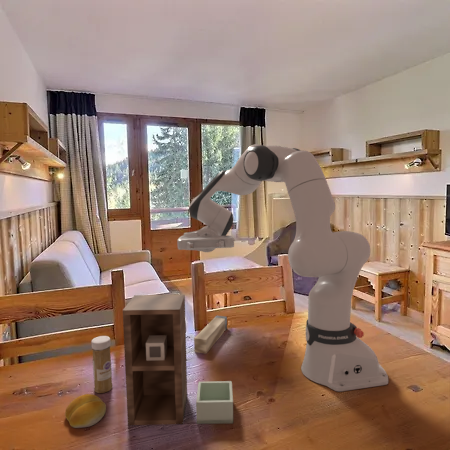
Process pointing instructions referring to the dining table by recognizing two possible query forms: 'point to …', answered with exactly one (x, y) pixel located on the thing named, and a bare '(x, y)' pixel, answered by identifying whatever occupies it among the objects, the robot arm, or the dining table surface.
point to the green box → (214, 402)
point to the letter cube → (156, 347)
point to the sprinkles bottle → (102, 364)
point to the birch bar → (210, 334)
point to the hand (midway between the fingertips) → (204, 245)
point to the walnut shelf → (155, 369)
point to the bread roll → (85, 411)
